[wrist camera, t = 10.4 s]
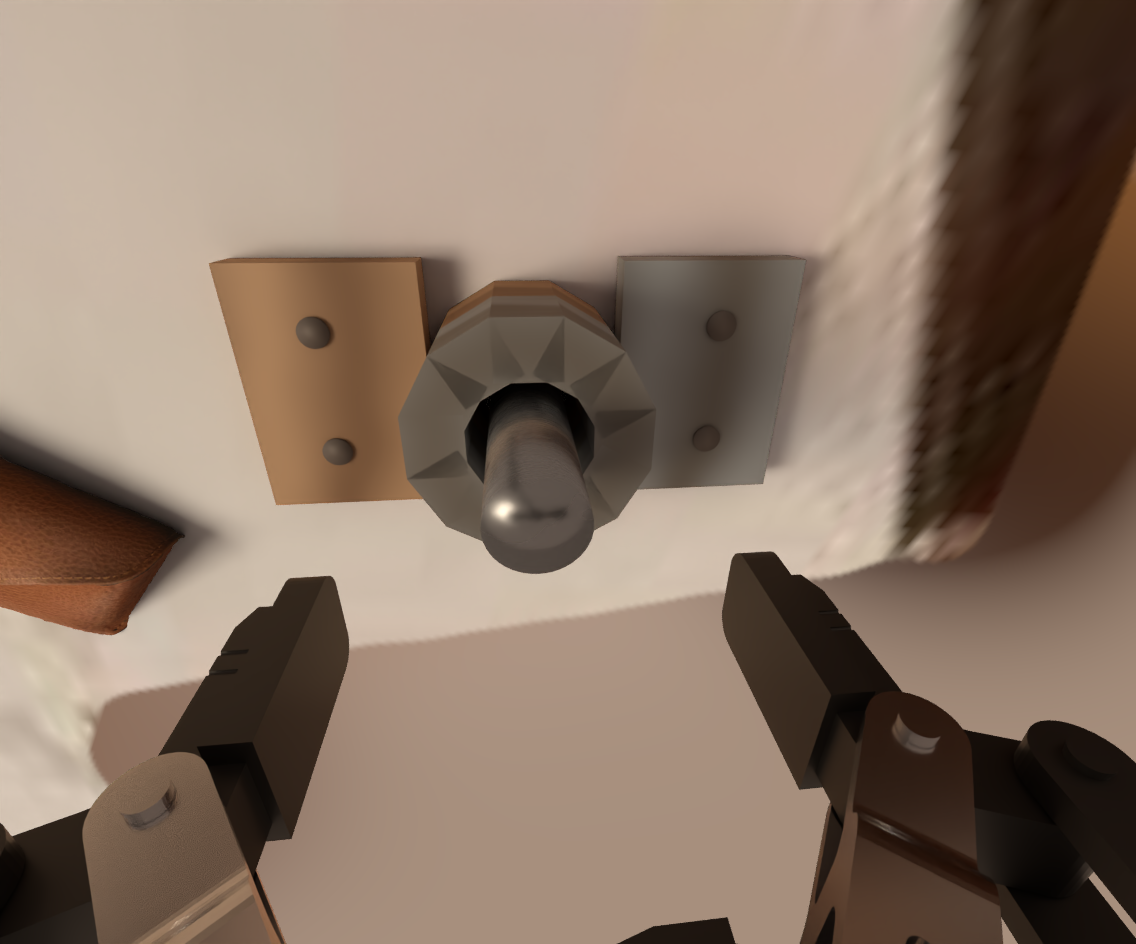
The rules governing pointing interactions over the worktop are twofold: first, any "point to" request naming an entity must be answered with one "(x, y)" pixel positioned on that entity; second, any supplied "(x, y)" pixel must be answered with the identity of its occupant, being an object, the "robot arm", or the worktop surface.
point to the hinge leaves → (507, 375)
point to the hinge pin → (533, 482)
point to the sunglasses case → (74, 553)
